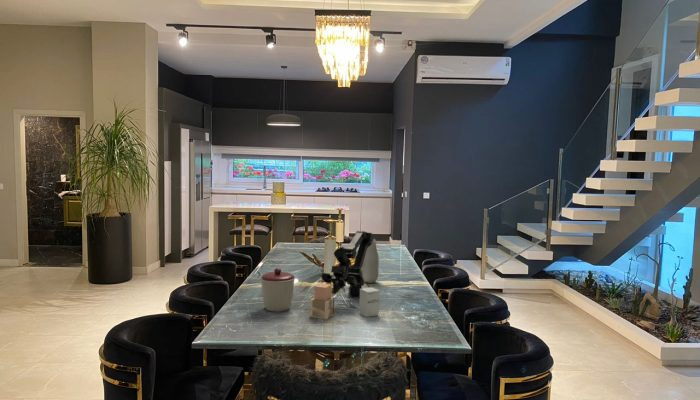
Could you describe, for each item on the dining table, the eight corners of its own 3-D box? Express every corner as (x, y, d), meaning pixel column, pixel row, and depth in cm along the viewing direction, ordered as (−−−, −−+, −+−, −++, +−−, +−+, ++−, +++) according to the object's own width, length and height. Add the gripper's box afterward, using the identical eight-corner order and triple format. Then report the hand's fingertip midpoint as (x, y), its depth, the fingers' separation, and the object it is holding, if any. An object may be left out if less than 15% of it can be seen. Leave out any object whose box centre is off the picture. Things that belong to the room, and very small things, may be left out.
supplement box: (366, 317, 243) (366, 292, 242) (359, 313, 250) (359, 288, 249) (379, 315, 247) (379, 290, 246) (371, 311, 253) (372, 286, 252)
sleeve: (317, 312, 251) (317, 295, 250) (334, 314, 247) (334, 297, 246) (310, 316, 244) (310, 299, 243) (327, 319, 240) (327, 301, 239)
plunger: (320, 311, 250) (320, 283, 248) (331, 312, 247) (331, 284, 246) (314, 314, 244) (314, 286, 243) (325, 316, 242) (325, 287, 240)
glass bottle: (371, 279, 318) (372, 236, 316) (381, 283, 310) (381, 238, 307) (358, 281, 313) (359, 237, 310) (368, 285, 304) (368, 239, 302)
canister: (293, 302, 266) (293, 263, 264) (297, 313, 248) (297, 271, 247) (259, 304, 262) (259, 265, 260) (260, 315, 244) (260, 273, 243)
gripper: (322, 257, 263) (312, 283, 254) (355, 261, 256) (345, 287, 247) (329, 269, 271) (320, 294, 262) (361, 272, 264) (352, 298, 255)
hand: (334, 293), depth 256 cm, fingers closed
